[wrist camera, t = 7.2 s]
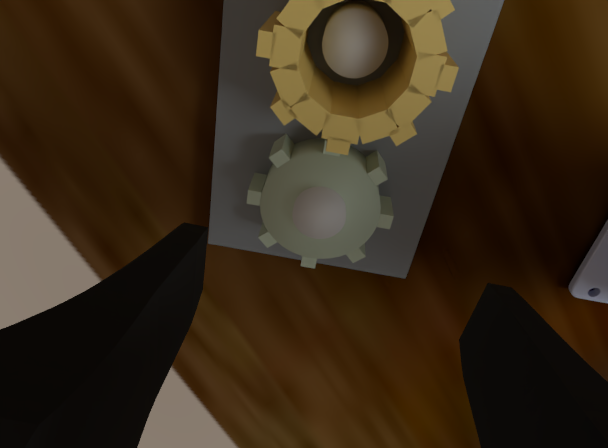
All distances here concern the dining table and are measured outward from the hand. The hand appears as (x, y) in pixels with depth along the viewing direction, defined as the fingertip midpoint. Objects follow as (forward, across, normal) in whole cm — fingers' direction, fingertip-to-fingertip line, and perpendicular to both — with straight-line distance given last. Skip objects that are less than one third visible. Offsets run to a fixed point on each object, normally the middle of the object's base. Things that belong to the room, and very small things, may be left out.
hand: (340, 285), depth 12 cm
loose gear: (+8, +1, -5) cm, 9 cm away
